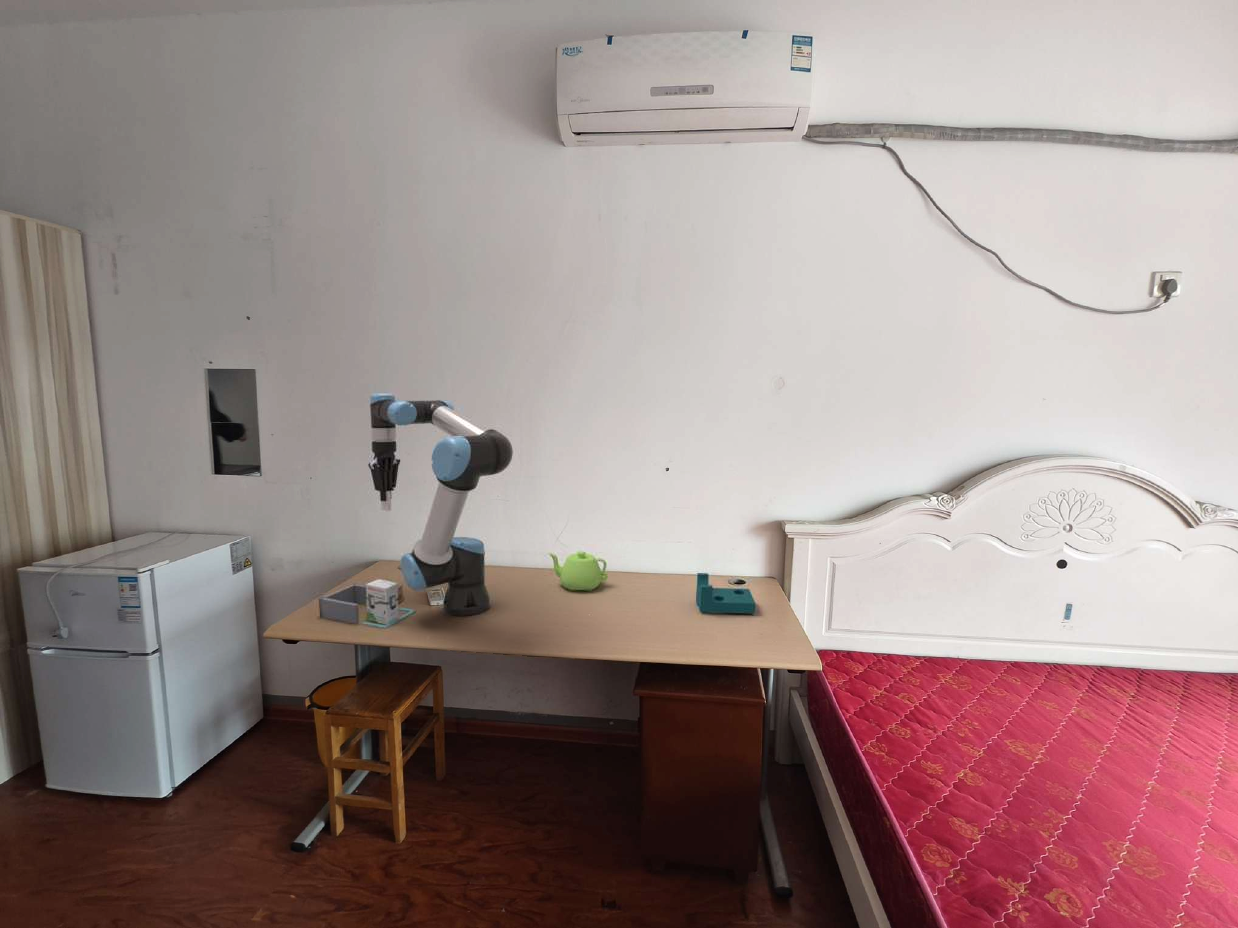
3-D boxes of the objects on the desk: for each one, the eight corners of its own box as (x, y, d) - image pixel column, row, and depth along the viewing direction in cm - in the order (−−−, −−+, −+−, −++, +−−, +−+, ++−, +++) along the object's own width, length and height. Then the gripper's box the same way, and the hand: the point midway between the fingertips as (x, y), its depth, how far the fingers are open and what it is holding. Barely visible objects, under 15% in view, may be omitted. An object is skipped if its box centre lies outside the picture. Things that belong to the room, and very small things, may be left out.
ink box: (365, 620, 176) (364, 583, 175) (378, 614, 181) (376, 578, 179) (387, 625, 173) (386, 587, 172) (399, 619, 178) (398, 582, 176)
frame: (415, 611, 184) (415, 610, 184) (384, 628, 171) (384, 627, 171) (394, 607, 186) (394, 606, 186) (362, 624, 173) (362, 622, 173)
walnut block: (402, 598, 194) (402, 584, 194) (396, 604, 190) (395, 589, 189) (388, 597, 195) (388, 583, 194) (381, 603, 190) (380, 589, 189)
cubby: (389, 607, 187) (388, 589, 186) (355, 624, 173) (355, 605, 172) (355, 600, 191) (354, 583, 190) (319, 616, 178) (318, 598, 177)
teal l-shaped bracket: (699, 616, 187) (701, 586, 185) (695, 600, 198) (697, 572, 195) (754, 617, 187) (757, 588, 185) (747, 602, 198) (749, 574, 195)
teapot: (545, 593, 202) (545, 557, 200) (549, 579, 217) (549, 545, 215) (607, 594, 203) (608, 558, 201) (607, 579, 218) (608, 546, 216)
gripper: (388, 438, 196) (390, 505, 199) (360, 441, 184) (363, 513, 187) (406, 439, 194) (408, 507, 197) (379, 442, 181) (382, 515, 185)
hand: (386, 509), depth 192 cm, fingers closed
